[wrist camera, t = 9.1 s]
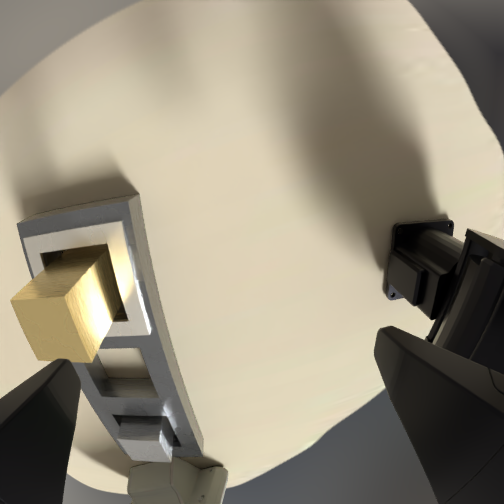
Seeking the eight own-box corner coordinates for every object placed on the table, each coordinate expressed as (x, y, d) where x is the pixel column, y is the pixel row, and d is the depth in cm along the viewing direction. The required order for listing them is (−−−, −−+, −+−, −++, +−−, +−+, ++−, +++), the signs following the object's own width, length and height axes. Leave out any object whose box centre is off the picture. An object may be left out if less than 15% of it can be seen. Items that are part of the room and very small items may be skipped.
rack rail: (139, 193, 18) (126, 202, 16) (203, 438, 27) (203, 458, 25) (34, 214, 18) (14, 224, 15) (128, 437, 27) (124, 456, 24)
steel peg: (164, 400, 25) (159, 441, 20) (174, 424, 26) (171, 462, 22) (126, 400, 25) (116, 438, 20) (139, 423, 26) (132, 460, 21)
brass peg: (114, 241, 19) (64, 296, 12) (127, 292, 20) (91, 362, 13) (68, 248, 19) (10, 300, 11) (83, 296, 20) (38, 360, 13)
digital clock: (145, 487, 32) (140, 542, 22) (107, 461, 29) (95, 522, 19) (239, 475, 32) (247, 539, 22) (208, 448, 28) (210, 526, 18)
